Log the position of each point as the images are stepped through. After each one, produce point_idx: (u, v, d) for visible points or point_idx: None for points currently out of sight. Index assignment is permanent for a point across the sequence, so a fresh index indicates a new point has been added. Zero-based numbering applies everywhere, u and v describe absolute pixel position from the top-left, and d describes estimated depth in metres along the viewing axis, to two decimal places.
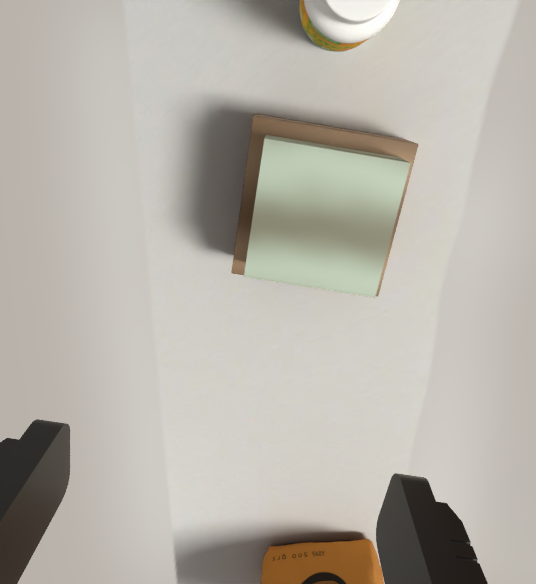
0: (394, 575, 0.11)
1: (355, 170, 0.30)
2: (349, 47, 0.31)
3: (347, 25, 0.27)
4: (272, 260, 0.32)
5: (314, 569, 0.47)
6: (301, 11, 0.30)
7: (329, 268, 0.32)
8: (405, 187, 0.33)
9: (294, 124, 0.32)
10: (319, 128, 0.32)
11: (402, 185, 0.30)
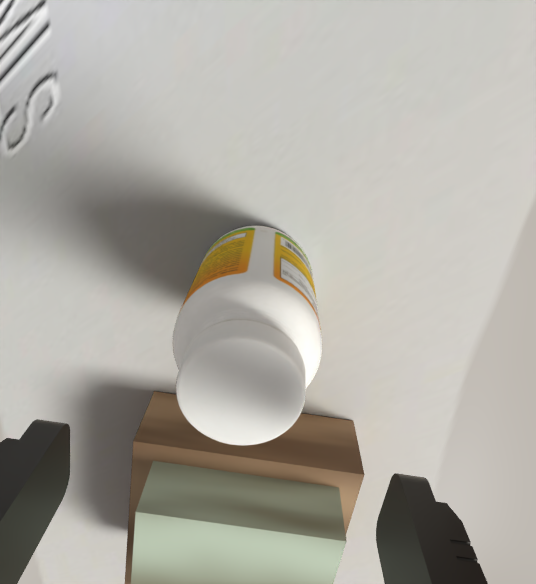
0: (394, 575, 0.11)
1: (268, 547, 0.21)
2: None
3: None
4: None
5: None
6: None
7: None
8: (348, 518, 0.24)
9: (191, 451, 0.23)
10: (226, 456, 0.23)
11: (336, 563, 0.21)
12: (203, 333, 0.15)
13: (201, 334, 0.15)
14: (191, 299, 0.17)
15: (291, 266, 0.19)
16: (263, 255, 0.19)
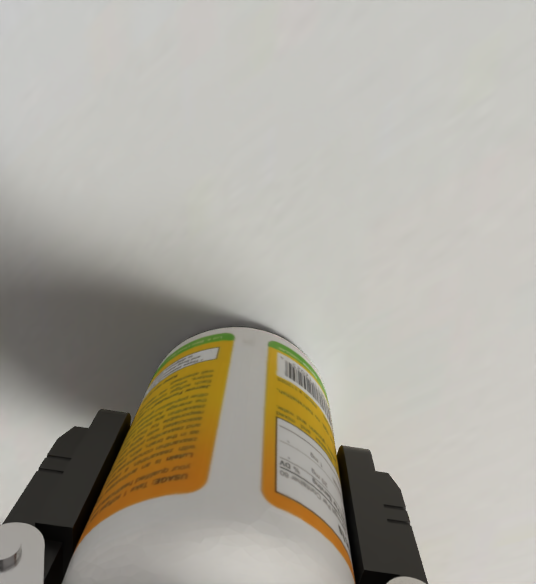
0: None
1: None
2: None
3: None
4: None
5: None
6: None
7: None
8: None
9: None
10: None
11: None
12: None
13: None
14: (88, 548, 0.08)
15: (297, 435, 0.10)
16: (242, 418, 0.10)
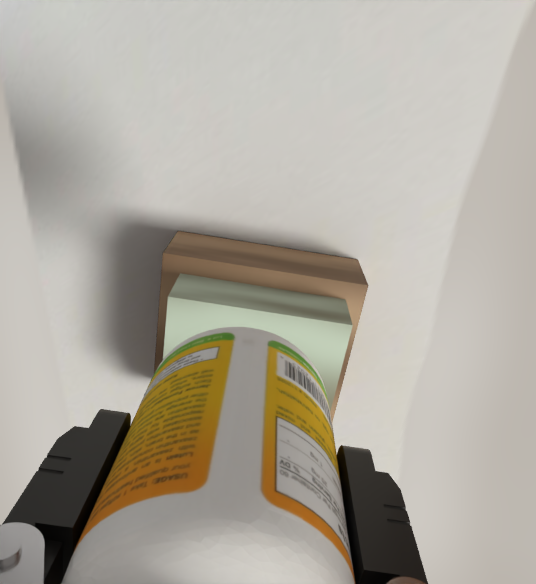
0: None
1: (284, 332, 0.24)
2: None
3: None
4: None
5: None
6: None
7: None
8: (354, 332, 0.27)
9: (214, 262, 0.26)
10: (245, 267, 0.26)
11: (343, 349, 0.24)
12: None
13: None
14: (88, 547, 0.08)
15: (297, 434, 0.10)
16: (242, 417, 0.10)
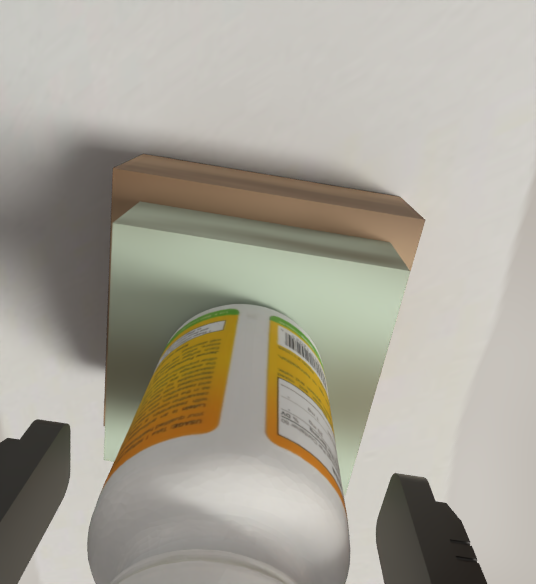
0: (394, 574, 0.11)
1: (299, 284, 0.15)
2: None
3: None
4: None
5: None
6: None
7: None
8: None
9: (191, 183, 0.17)
10: (239, 190, 0.17)
11: (394, 311, 0.15)
12: None
13: None
14: (117, 480, 0.09)
15: (296, 393, 0.11)
16: (247, 376, 0.11)
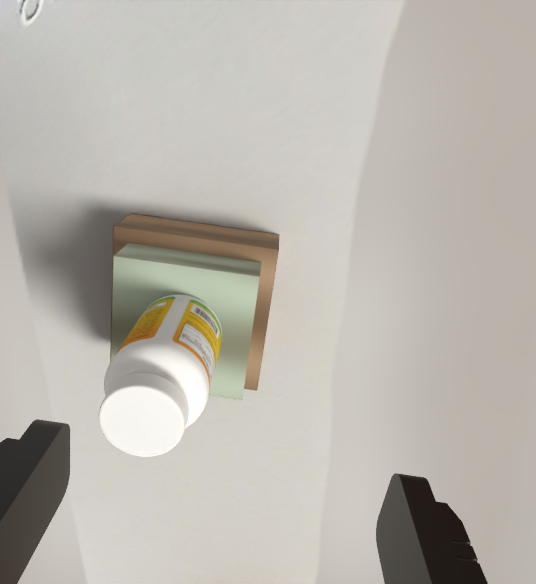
0: (394, 575, 0.11)
1: (206, 284, 0.30)
2: None
3: None
4: None
5: None
6: None
7: None
8: (271, 289, 0.33)
9: (154, 233, 0.32)
10: (179, 236, 0.32)
11: (254, 297, 0.30)
12: (117, 382, 0.23)
13: (116, 382, 0.23)
14: (115, 356, 0.24)
15: (192, 329, 0.27)
16: (171, 322, 0.26)
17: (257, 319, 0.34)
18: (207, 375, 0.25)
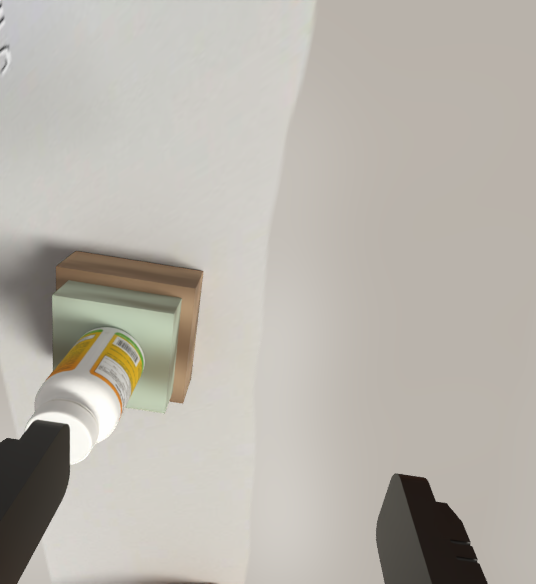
0: (394, 575, 0.11)
1: (130, 319, 0.36)
2: None
3: None
4: None
5: None
6: None
7: None
8: (190, 320, 0.40)
9: (90, 273, 0.38)
10: (112, 276, 0.38)
11: (170, 330, 0.37)
12: (40, 407, 0.29)
13: (39, 407, 0.29)
14: (43, 384, 0.31)
15: (110, 360, 0.33)
16: (92, 354, 0.33)
17: (180, 344, 0.40)
18: (118, 399, 0.31)
